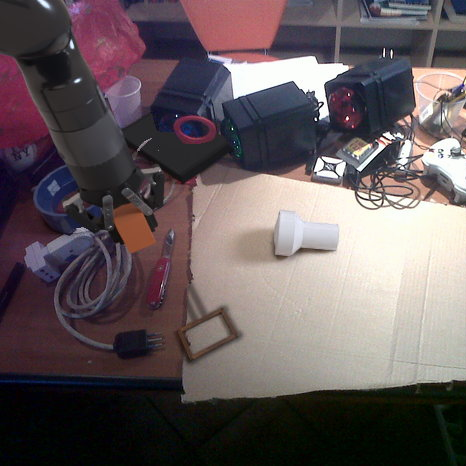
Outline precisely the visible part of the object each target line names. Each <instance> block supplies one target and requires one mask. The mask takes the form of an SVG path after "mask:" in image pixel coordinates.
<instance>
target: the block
mask: <svg viewBox="0 0 466 466" xmlns="http://www.w3.org/2000/svg"><path fill="white" fill-rule="evenodd" d="M113 212H114V223H115V226H116V228H117V230H118V232H119V234H120V236H121V238H122V239H123V241H124V243H125V244H124V245H125V247H126V249H127V250H128V253H129V254H133V253H136V252H138V251H140V250H143V249H146V248H148V247H150V246H152V245H155V244H156V243H157V241H156V240H155V236H154V235H153V232H151V230H150V228H149V226H148V224H147V221H146V219H145V217H144V215H143V213H142V212H141V211H140V210H139V209H137V208H136V207H135V206H134V205H133V204H132V203H130V204H126V205H122V206H120V207H118V208H117V209H114V210H113Z"/></svg>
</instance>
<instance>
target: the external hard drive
mask: <svg viewBox="0 0 466 466" xmlns="http://www.w3.org/2000/svg"><path fill="white" fill-rule="evenodd" d="M151 112H152V111H150V112H149V113H147V114H145V115H143V116H141V117H140V118H138V119H136V120H134V121H133V122H131V123H129V124H128V125H126V126H124V127H123V128H120V129H121V130H122V132H123V136H124V139H125V141H126V143H127V146H128V148H129V149H130V148H131V149H132V150H133V151H135V152H136V150H137V149H138V148H139V146H140V145H141V144H142V143H143V142H144V141H146V140H148V139H150V138H152V139H151V140H150V141H148V142H147V143H146V144H145V145H144V146H143V147H142V148H141V149H140V151H139V152H137V154H139V155H140V156H142V157H143V158H145V159H146V160H147V161H149V162H150V163H152V164H158V165H159V166H160V168H161V170H162V171H163V172H166V173H167V174H168V175H169V176H170V177H172V178H174V179H175V180H176V181H178V182H180V183H181V184H182V185H185V184H186V183H189V181H190V180H192V179H193V178H195V177H196V176H197V175H199V174H200V173H202V172H203V171H205V170H207V169H208V168H209V167H211V166H212V165H213V164H215V163H216V162H218V161H220V159H222V158H223V157H226V155H228V154H229V153H230V152H232V151H234V149H233V148H232V147H230V146H229V143H228V142H227V141H226V139H225V138H224V137H225V136H224V135H222V134H221V133H219V132H217V133H216V137H215V139H213V140H212V141H209V142H205V143H201V144H184V143H183V142H182V141H181V140H180V139H179V138H178V137H177V136H176V135H175V133H174V132H160V131H157V129H156V127H155V124H154V120H153V117H152V113H151ZM223 136H224V137H223ZM199 137H201V136H199ZM158 150H159V151H158Z"/></svg>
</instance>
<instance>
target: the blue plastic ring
mask: <svg viewBox="0 0 466 466" xmlns="http://www.w3.org/2000/svg"><path fill="white" fill-rule="evenodd" d="M76 190H78V184H77V183H76V181H75V179H74V177H73V176H72V174H71V172H70V170H69V169H68V167H67V165H66V164H64V165H61V166H59V167H57V168H55V169H54V170H52V171H50V172H49V173H47V175H46V176H44V177H43V179H41V180H40V182H39V183H38V185H37V186H36V187H35V189H34V192H33V198H32V199H33V203H34V206H35V208H36V209H37V211H38V212H39V214H40V215H41V217H42V218H43V219H44V220H45V223H46V224H47V225H48V226H49V227H50V228H51V229H52V230H53V231H55V232H58V233H60V234H64V235H67V234H66V233H68V232H70V231H71V230H73V229H76V228H81V227H83V226H82V225H81V224H79V223H78V222H76V221H75V220H73V219H72V218H71V217H69V216H68V215H66V213H57V209H58V206H59V204H60V203H61V202H62V199H63V198H65V197H67V195H69V194H70V193H72V192H74V191H76ZM84 208H85V207H84ZM85 209H86V210H87V211H89V212H90V213H91V214H93V215H94V216H95V217H101V211H100V207H98V206H95V205H92V204H91V205H90V206H88V207H86V208H85ZM84 228H85V227H84Z"/></svg>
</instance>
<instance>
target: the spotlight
mask: <svg viewBox="0 0 466 466" xmlns="http://www.w3.org/2000/svg"><path fill="white" fill-rule="evenodd" d="M273 229H274V230H273V242H274V248H275V249H274V252H275V253H274V254H275V256H286V257H292V256H293V255H294V254H295V253H296V252H297V251H298V250H299V249H301V248H302V249H312V250H313V249H314V250H326V251H337V249H338V247H339V241H340V225H339V224H338V223H329V222H318V221H307V220H303V219H302V218H301V216H299V214H298V212H297V211H295V210H291V209H278V216H277V218H276V221H275V224H274V228H273Z"/></svg>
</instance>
